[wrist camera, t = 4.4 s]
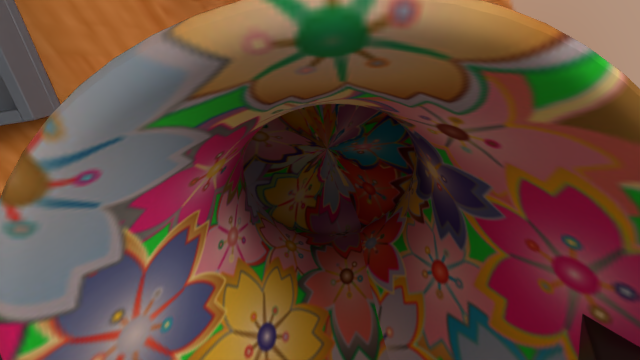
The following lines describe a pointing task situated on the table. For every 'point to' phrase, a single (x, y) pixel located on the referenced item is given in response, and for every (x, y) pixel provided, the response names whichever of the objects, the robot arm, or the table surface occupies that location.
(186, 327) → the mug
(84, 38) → the table surface
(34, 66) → the tray
